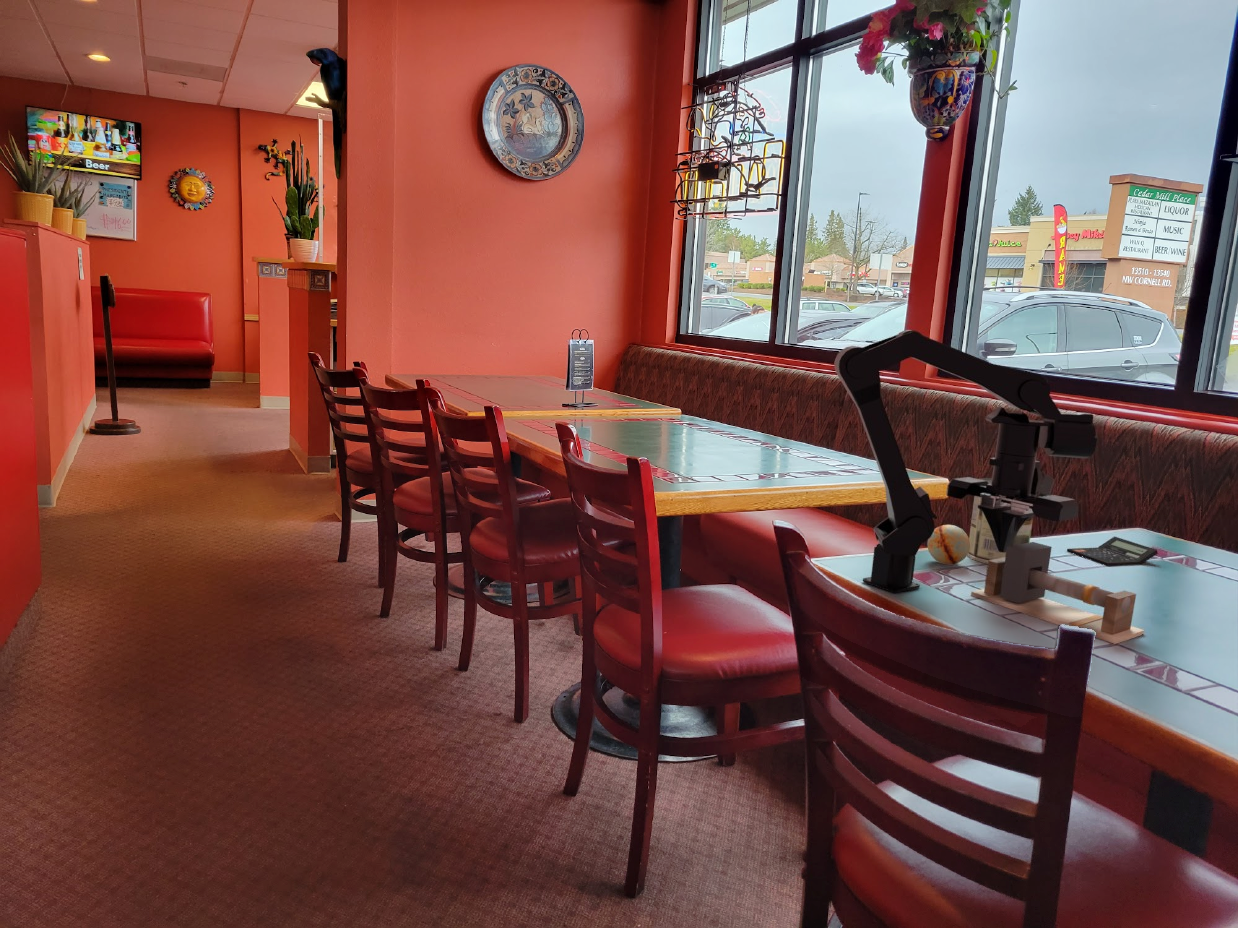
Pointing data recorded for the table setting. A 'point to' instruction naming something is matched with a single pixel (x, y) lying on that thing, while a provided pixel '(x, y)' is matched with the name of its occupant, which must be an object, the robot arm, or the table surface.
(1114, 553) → the calculator
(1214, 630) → the table surface
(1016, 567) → the grey sliding block
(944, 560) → the ball
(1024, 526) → the coffee can
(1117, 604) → the pipe stand
